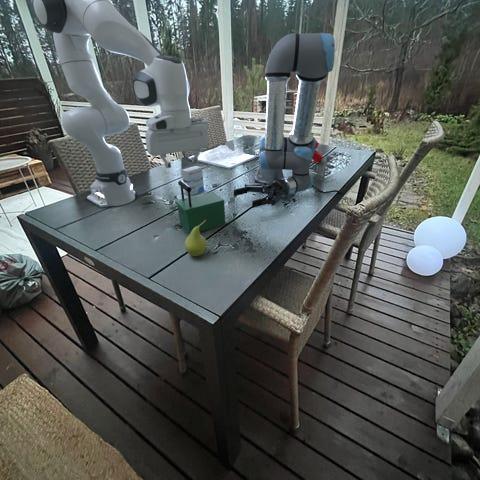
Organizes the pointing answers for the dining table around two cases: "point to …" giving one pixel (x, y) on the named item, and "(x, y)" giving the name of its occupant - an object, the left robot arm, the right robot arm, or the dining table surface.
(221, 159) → the relief map
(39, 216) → the dining table surface
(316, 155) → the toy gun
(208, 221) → the chest
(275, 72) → the right robot arm
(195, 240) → the fruit
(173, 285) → the dining table surface
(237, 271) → the dining table surface
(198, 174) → the ink box
